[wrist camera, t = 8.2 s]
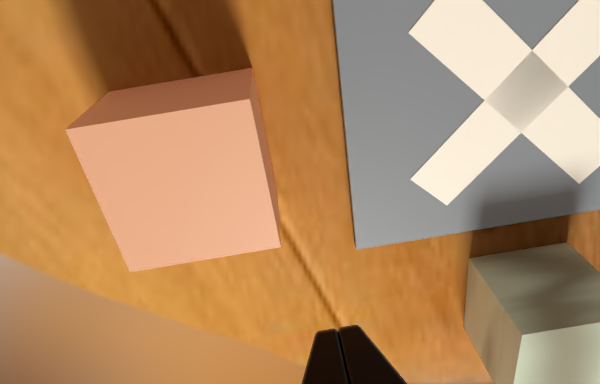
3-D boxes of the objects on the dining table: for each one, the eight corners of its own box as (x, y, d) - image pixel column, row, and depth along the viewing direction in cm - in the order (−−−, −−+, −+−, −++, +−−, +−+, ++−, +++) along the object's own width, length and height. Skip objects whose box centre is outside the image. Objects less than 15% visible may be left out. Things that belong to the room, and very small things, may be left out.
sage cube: (565, 241, 23) (644, 314, 18) (550, 311, 26) (615, 391, 21) (468, 257, 23) (522, 335, 18) (463, 326, 26) (508, 409, 21)
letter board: (763, -135, 15) (776, -138, 15) (654, 195, 22) (661, 199, 22) (325, -63, 15) (327, -64, 15) (354, 244, 22) (356, 250, 22)
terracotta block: (252, 66, 17) (250, 98, 13) (277, 190, 20) (280, 246, 16) (109, 90, 17) (65, 129, 13) (155, 211, 20) (129, 272, 16)
